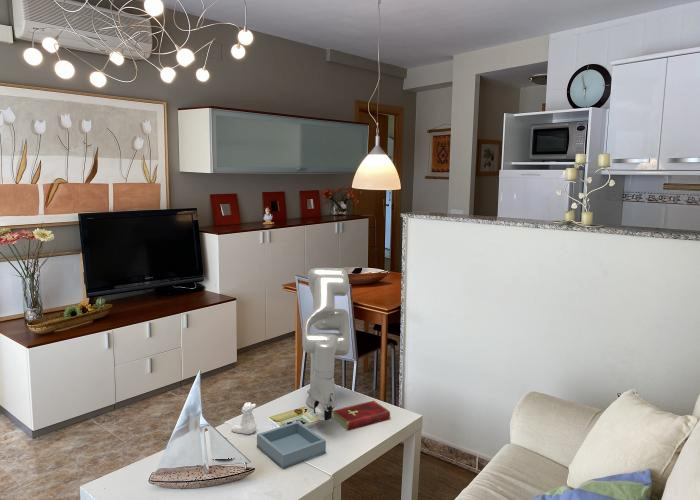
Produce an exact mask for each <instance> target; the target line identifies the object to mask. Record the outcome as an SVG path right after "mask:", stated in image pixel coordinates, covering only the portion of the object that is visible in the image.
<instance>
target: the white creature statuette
mask: <svg viewBox="0 0 700 500" xmlns="http://www.w3.org/2000/svg"><path fill="white" fill-rule="evenodd" d="M256 406H257V404H256V403H252V402H250V401H249V402H248V401H247V402H245V403H244V404H243V406H242V407H241V411H240V412H242V416H241V421H240V425H239V424H235V425H232V426H231V428H230V430H231V432H232V433H235V434H236V433H237V434H241V435H242V434H243V435H252V434H254V433H255V432H256V430H257V426H258V425H257V423H256V421H255V416H254V414H253V411H254V408H256Z"/></svg>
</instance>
